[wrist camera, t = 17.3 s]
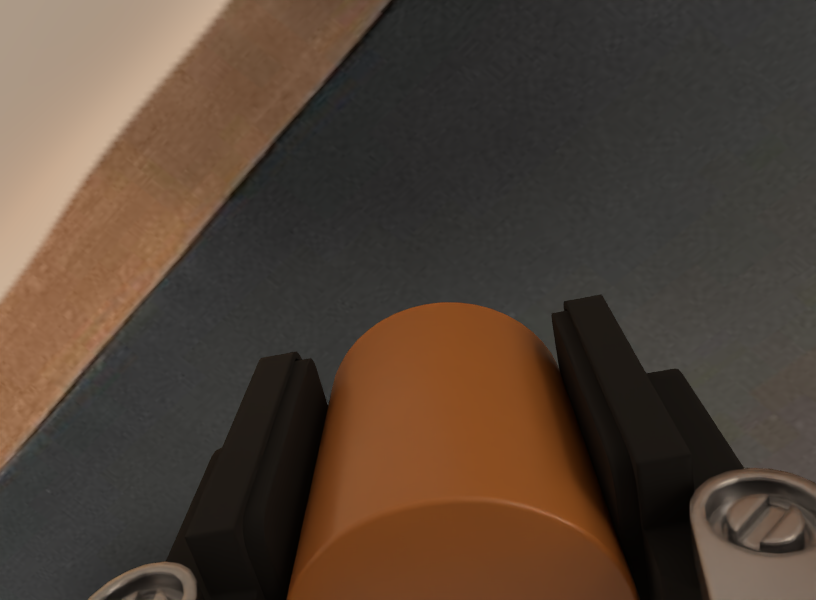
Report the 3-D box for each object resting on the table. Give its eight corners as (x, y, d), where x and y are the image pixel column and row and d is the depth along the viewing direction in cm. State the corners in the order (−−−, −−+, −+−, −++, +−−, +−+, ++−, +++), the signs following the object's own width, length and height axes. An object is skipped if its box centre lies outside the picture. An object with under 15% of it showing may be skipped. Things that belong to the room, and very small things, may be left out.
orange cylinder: (549, 281, 10) (630, 471, 6) (576, 483, 12) (657, 744, 8) (306, 323, 11) (236, 529, 7) (359, 515, 12) (328, 780, 8)
